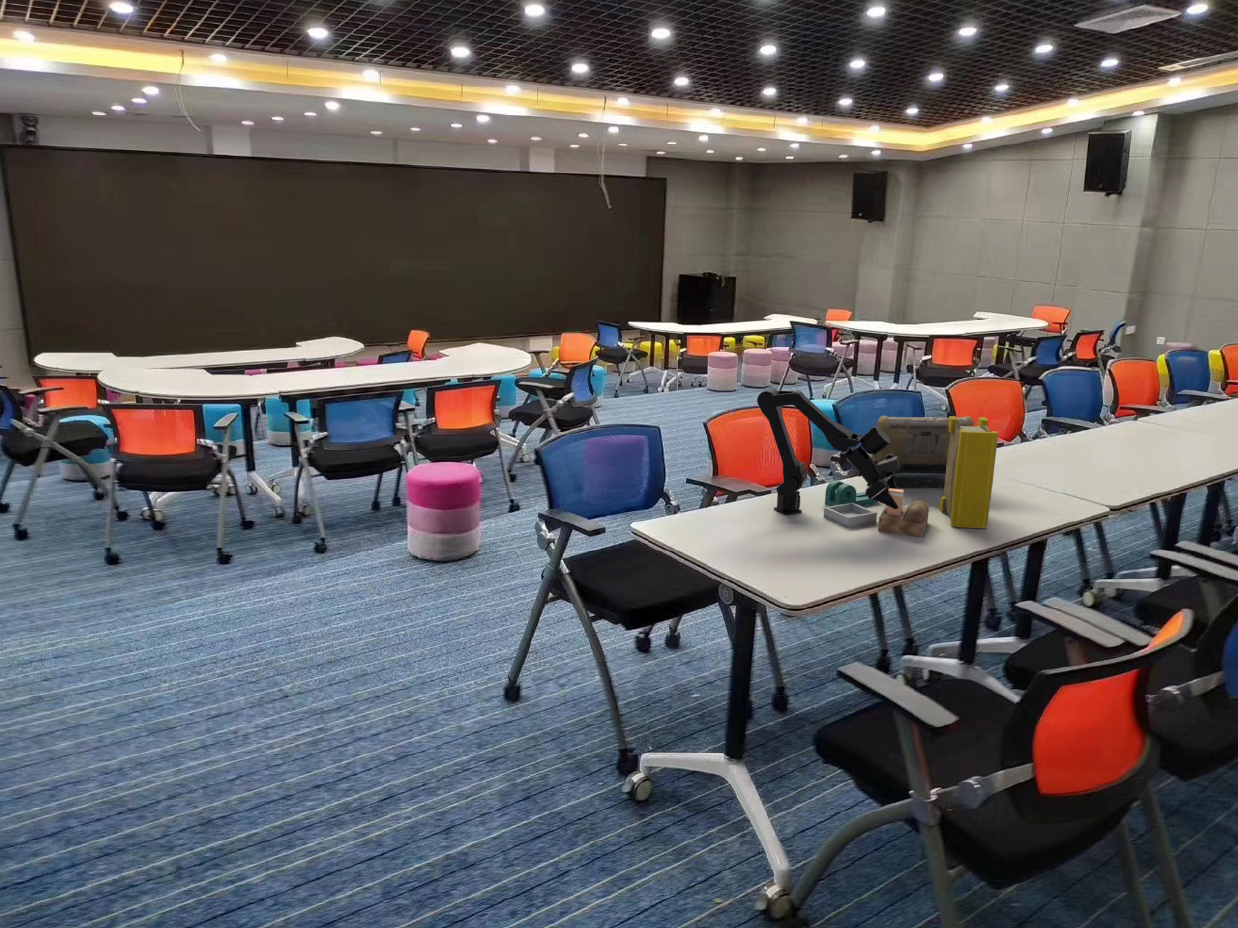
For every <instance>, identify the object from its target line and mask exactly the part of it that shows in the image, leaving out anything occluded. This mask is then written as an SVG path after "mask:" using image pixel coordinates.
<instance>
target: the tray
mask: <svg viewBox="0 0 1238 928" xmlns="http://www.w3.org/2000/svg"><path fill="white" fill-rule="evenodd" d="M877 517H878V512H876V511H874V510H871V509H869V508H866V507H865V506H859V505H857V504H854V503H848V504H842V505H836V506H825V507H824V508H823V518H825V519H828V520H829V521H832V522H834V523H837V524H839V525H841V526H844V527H846V528H852V527H857V526H863V525H869V524H873V523H877V519H878V518H877Z"/></svg>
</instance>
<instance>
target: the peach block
mask: <svg viewBox="0 0 1238 928" xmlns="http://www.w3.org/2000/svg"><path fill="white" fill-rule="evenodd" d="M889 493H890V494H891V496H892V497H893V499H894V500H895V502H896V504H897V505H898V508H897V509H893V508H891V507H889V506H887V514H891V515H899V516H902V507H903V503H904V494H905V491H904V489H901V488H898V489H891V488H890V489H889Z"/></svg>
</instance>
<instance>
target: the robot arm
mask: <svg viewBox="0 0 1238 928" xmlns="http://www.w3.org/2000/svg"><path fill="white" fill-rule="evenodd" d="M756 402H757V405H758V407H759V409H760V411H761V413H762V414H763V416H764V417H765V418H766V419H767V421H768V422H769V426H770V429H771V432H772V435H773V438H774V442H775V444H776V448H777V450H778V453H779V456H780V460H781V462H782V479H783V481H782V482H781V483H780V484H779V485H778V486H777V487H776V489H775V490H776V493H777V494H776V495H777V499H776V506H775V507H773V510H775V511H777V512H779V513H781V514H783V515H790V514H791V515H792V514H797V513H802V512H803V509H800V508H801V495H800V494H801V493H800V491H799V490H800V489H801V488H802V487H803V486H804V485H805V484H806V483H807V480H808V474H809V471H808V470H807V467H806V462H805V461H802V462H800V461H799V459H798V458H797V456H796V453H795V450H794V448H793V445H792V441H791V438H790V434H789V432H788V428H787V425H786V423H785V420H784V417H783V407H786V406H794V408H796V409H797V410H798V411H799V412H800V413H801V414H802V415H804V417H806V419H808V420H809V421H810V422H811V423H812V424H814V425H815V427H817V428H818V429H819V430H820V431H821V433H823V435H824V437H825V439H826V441H827V442H828V443H829V445H830V446H831V447H832V448H833V449H834V450H835V451H838V452H839V451H841V452H840V453H839V463H843V462H844V461H845V460H847V462H848V463H849V464H850V465H851V466H852V467H853V468H854V469H855V471H856V472H857V476H858V477H861V478H863V480H864V481H865V482H866V486H867V488H866V489H865V492H866V493H865V495H866V496H867V497H868V498H869V499H871V498H872V500H876V501H878V503H880V504H883V505H885V506H886V505H887V506H889V507H891V508H893V509H897V508H898V505H897V504H896V502H895V500H894V499H893V497H892V496H891V494H890V493H889V489H890V488H891V489H899V488H897V486H896V484H895V474H894V473H895V471H896V470H899V469H900V467H901V465H900V462H899V458H898V457H897V456H894V455H893V454H889V455H887V456H886V460H884V461H881V462H879V461H878V460H877V459H876V460H875V459H874V460H873V459H872V458H871V457H872V456H871V455H872V454H874V455H876V454H877V453H879V452H880V451H881V450H882V449H884V448H885V447H886V446H887V445H889V444H890V443H891V441H890V439H889V437H888V436H887V435H886V433H885V432H883V431H881V430H880V429H878V428H877V425H874V426H872V427H871V428H870V430H868V431H867V432H866V433H864V434H863V435H862V434H859V433H854V432H852V431H851V430H850V429H848V428H847V427H846V426H844V425H843V424H840V423H838V422H836V421H835V420H832V419H831V418H830V417H829V416H828V415H827V414H826V413H824V412H823V411H822V409H820V408H819V407H818V406H817V405H816V404H815V403H814V402H813V401H812V400H810V399H809V398H808V396H805V394H804V393H803V391H801V390H777V389H775V388H772V387H771V388H767V389H765V390H764V391H761V392H760V393H759V394H758V396H757V398H756ZM857 445H858V446H857ZM891 474H892V475H893V474H894V475H893V476H890V475H891Z"/></svg>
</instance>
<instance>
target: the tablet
mask: <svg viewBox="0 0 1238 928" xmlns="http://www.w3.org/2000/svg"><path fill="white" fill-rule="evenodd" d="M957 419H958V423H960V426H971V427H974V425H975V421H974V418H972V417H971V416H968V415H967V416H964V417H957ZM948 422H949V417H934V416H933V417H932V416H931V417H929V416H928V417H924V416H923V417H922V416H921V417H916V416H915V417H914V416H913V417H910V416H909V417H908V416H907V417H906V416H905V417H904V416H903V417H901V416H900V417H898V416H887V415H881V416H880V417H879V418H878V420H877V423H876V427H877V428H878V429H880V430H881V431H883V432H885V433H886V435H887V436H888V437H889V439H890V441H891V443H890V444H889V445H887V446H886V447H885V448H884V449H882V450H881V451H880V452H879V453H877V454H876V455H874V454H871V456H870V457H871V458H872V459H873V460H874V459H875V460H876V459H877V460H878V461H879V462H881V461H884V460H886V456H887V455H889V454H893V455H894V456H897V457H898V458H899V462H900V465H901V467H900V469H899V470H896V471H895V473H894V474H895V484H896V486H897V488H898V489H944V487H945V476H946V466H947V456H948V449H949V442H950V436H951V433H950V432H949V424H948ZM894 474H893V475H894ZM893 475H892V474H891V475H890V476H893Z"/></svg>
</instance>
